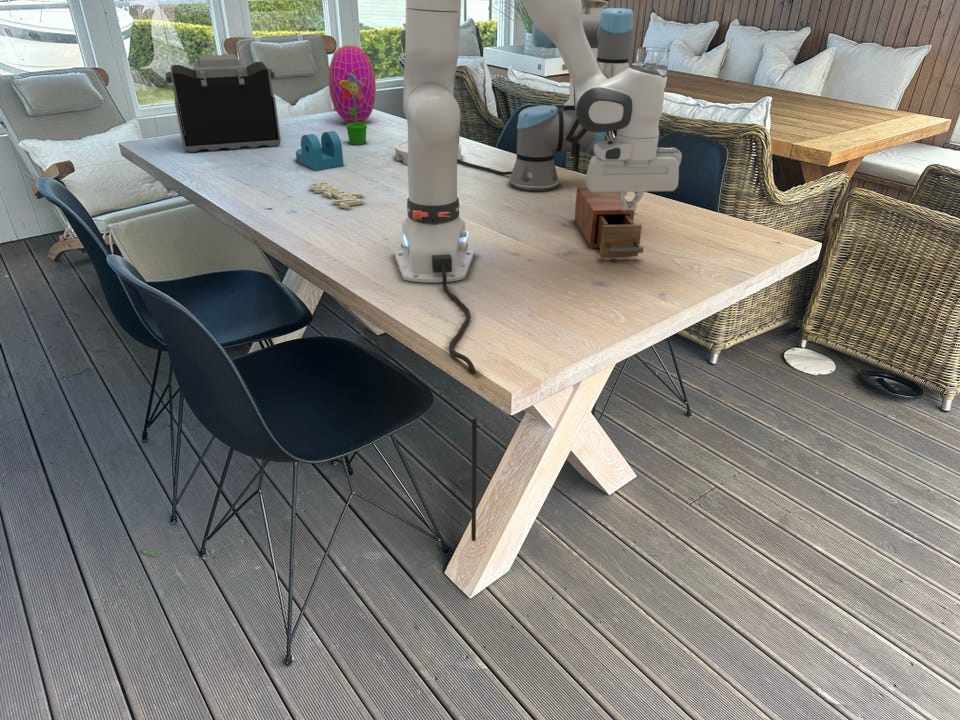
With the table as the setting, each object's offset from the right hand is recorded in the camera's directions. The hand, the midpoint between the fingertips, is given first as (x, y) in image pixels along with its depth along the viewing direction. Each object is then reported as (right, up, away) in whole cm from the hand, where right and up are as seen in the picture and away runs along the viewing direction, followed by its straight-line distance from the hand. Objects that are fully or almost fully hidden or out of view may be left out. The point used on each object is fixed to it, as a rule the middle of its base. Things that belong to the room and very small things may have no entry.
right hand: (601, 168), depth 177 cm
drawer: (+1, -21, -8) cm, 23 cm away
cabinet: (0, -16, +2) cm, 17 cm away
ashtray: (-50, +23, +67) cm, 87 cm away
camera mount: (-88, +19, +60) cm, 108 cm away
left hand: (+2, -15, -22) cm, 27 cm away
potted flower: (-78, +34, +85) cm, 120 cm away
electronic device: (-125, +33, +83) cm, 153 cm away
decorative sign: (-74, 0, +28) cm, 79 cm away
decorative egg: (-85, +52, +117) cm, 153 cm away
